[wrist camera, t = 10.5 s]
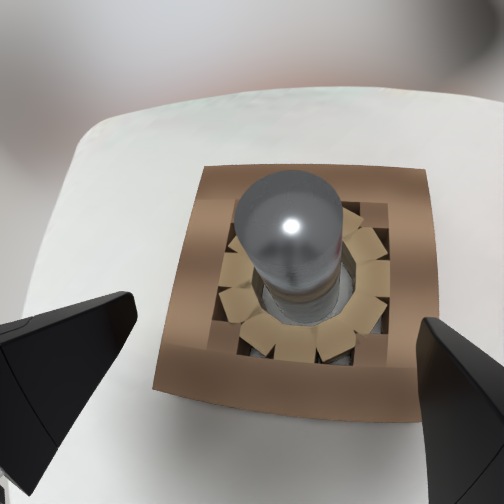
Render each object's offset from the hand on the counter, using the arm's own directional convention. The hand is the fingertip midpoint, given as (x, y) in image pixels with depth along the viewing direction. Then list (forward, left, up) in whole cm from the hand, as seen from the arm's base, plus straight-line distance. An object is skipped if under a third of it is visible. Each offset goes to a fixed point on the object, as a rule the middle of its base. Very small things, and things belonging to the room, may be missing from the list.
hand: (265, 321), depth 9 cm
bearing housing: (+5, +1, -12) cm, 12 cm away
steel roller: (+5, +1, -12) cm, 12 cm away
